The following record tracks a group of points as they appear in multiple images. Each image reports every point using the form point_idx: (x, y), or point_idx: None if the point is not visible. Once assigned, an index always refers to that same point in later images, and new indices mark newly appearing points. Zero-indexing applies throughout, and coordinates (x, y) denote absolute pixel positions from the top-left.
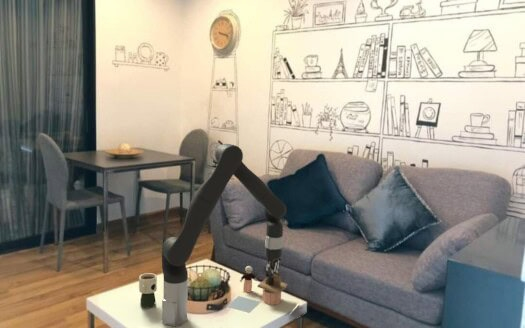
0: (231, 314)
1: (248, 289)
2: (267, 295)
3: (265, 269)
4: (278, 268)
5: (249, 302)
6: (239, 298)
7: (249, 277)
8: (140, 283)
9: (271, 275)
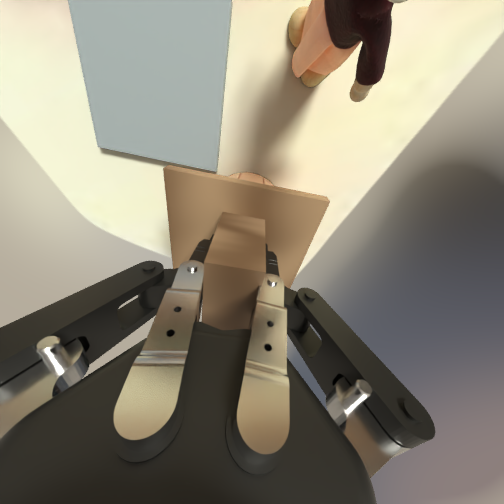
0: (33, 43)
1: (296, 55)
2: None
3: (7, 338)
4: (293, 341)
5: (184, 113)
6: (201, 22)
7: (337, 12)
8: None
9: (142, 312)
